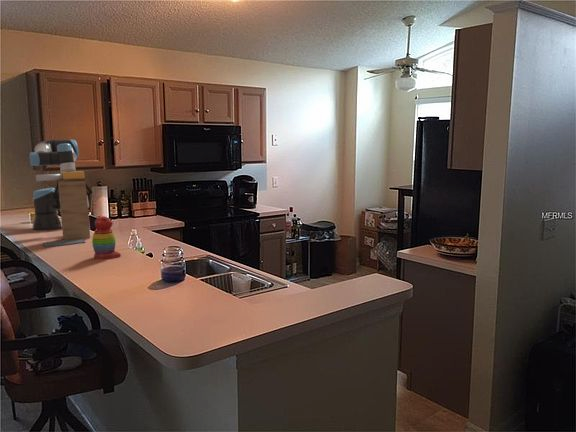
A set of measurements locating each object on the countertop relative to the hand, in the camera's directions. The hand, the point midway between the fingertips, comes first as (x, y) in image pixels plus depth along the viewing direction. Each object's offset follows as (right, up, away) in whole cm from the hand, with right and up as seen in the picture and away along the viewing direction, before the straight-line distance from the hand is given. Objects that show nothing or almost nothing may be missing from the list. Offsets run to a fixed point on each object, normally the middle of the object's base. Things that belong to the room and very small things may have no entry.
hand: (75, 208), depth 263 cm
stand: (+8, -16, -16) cm, 23 cm away
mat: (+7, -18, -28) cm, 33 cm away
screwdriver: (+4, +14, -22) cm, 26 cm away
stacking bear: (+39, -22, -57) cm, 72 cm away
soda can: (+6, -14, -3) cm, 15 cm away
